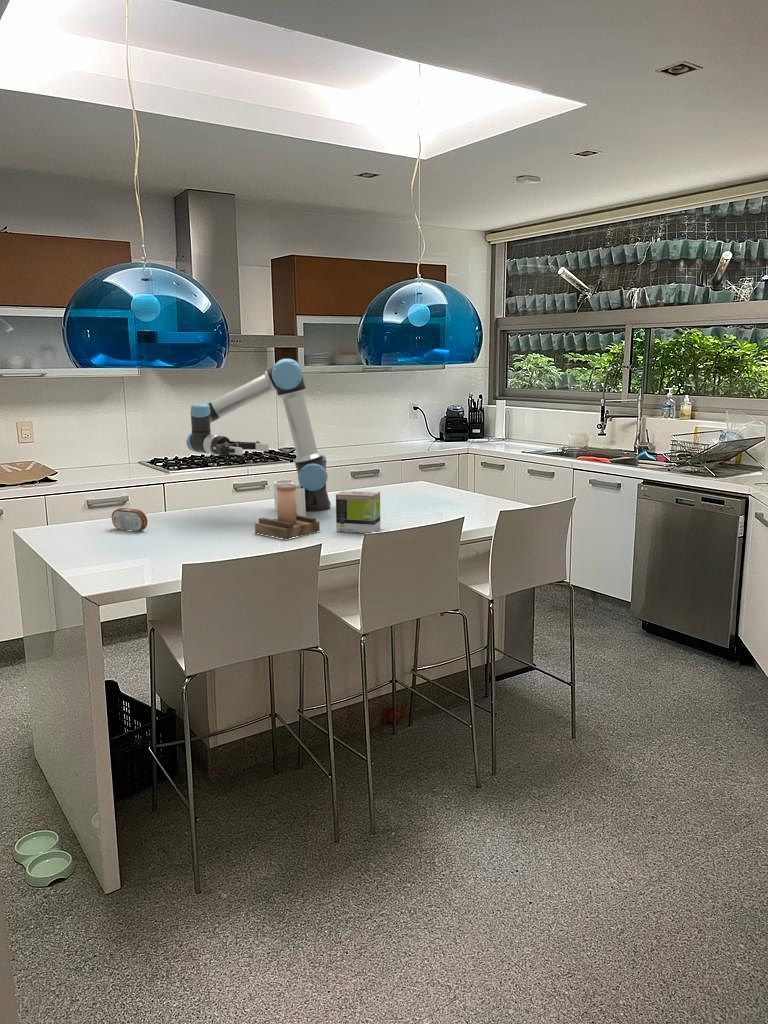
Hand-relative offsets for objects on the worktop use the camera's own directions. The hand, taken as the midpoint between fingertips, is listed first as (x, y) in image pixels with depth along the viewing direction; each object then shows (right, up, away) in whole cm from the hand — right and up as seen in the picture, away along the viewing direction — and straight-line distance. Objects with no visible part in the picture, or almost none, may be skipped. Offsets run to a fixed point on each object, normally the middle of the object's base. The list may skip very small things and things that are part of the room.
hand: (255, 449), depth 304 cm
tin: (-47, -31, -1) cm, 57 cm away
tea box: (+39, -31, +1) cm, 50 cm away
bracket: (+9, -24, +30) cm, 40 cm away
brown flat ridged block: (+13, -32, -4) cm, 34 cm away
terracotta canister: (+13, -28, -4) cm, 31 cm away
